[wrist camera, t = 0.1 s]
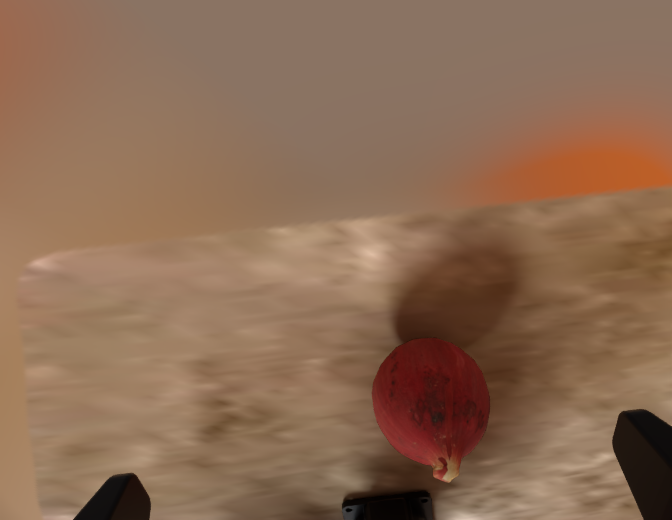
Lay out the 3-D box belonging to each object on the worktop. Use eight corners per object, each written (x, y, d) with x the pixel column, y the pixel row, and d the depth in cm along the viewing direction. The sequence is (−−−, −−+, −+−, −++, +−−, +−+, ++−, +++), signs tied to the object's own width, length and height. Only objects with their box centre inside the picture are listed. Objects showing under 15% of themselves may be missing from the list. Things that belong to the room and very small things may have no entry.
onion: (362, 312, 26) (380, 437, 19) (468, 302, 26) (525, 423, 19) (368, 388, 29) (386, 519, 22) (463, 379, 29) (510, 507, 22)
